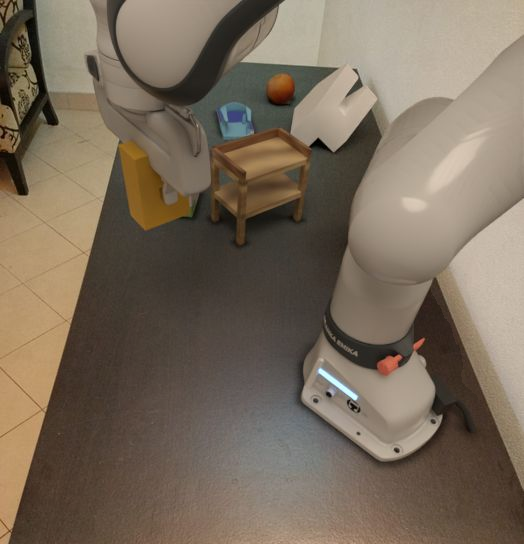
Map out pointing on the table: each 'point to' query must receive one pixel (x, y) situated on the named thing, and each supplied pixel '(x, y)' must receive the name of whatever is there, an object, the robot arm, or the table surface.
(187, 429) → the table surface
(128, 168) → the yellow block
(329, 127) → the slotted wedge
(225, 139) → the chair
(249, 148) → the rack
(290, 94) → the fruit
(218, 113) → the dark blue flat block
